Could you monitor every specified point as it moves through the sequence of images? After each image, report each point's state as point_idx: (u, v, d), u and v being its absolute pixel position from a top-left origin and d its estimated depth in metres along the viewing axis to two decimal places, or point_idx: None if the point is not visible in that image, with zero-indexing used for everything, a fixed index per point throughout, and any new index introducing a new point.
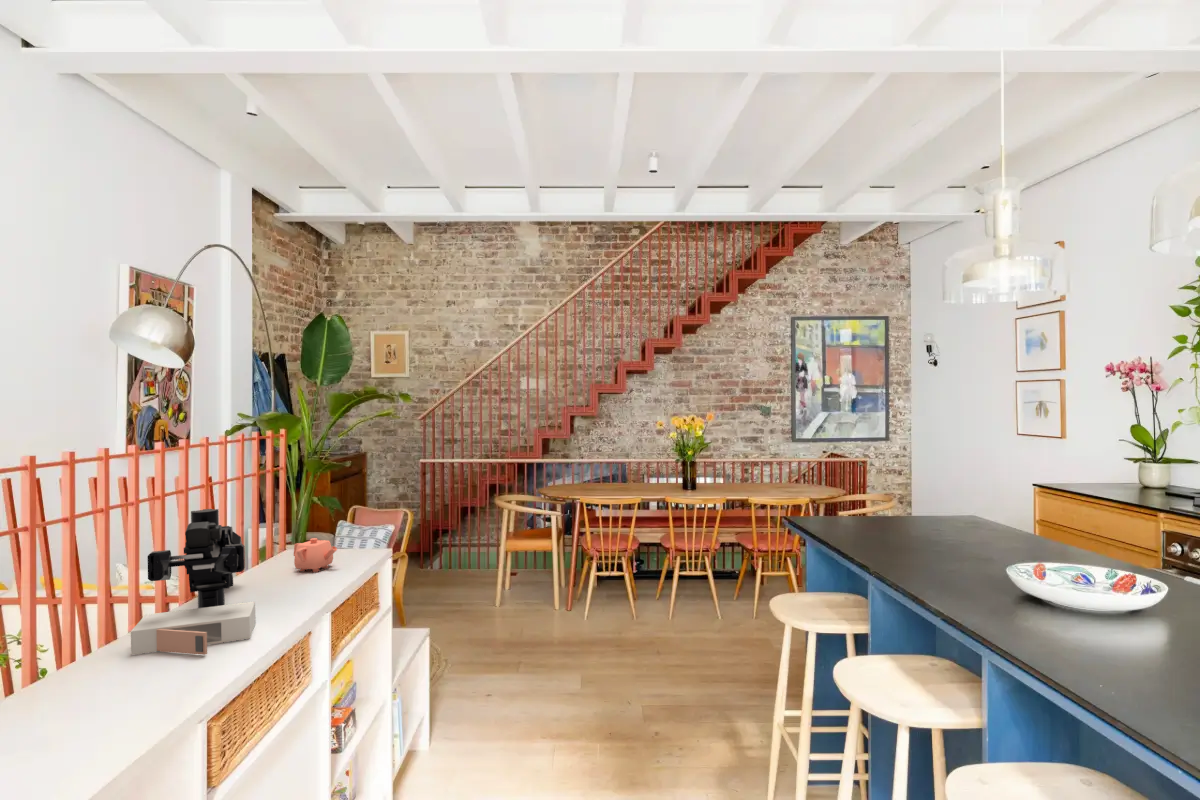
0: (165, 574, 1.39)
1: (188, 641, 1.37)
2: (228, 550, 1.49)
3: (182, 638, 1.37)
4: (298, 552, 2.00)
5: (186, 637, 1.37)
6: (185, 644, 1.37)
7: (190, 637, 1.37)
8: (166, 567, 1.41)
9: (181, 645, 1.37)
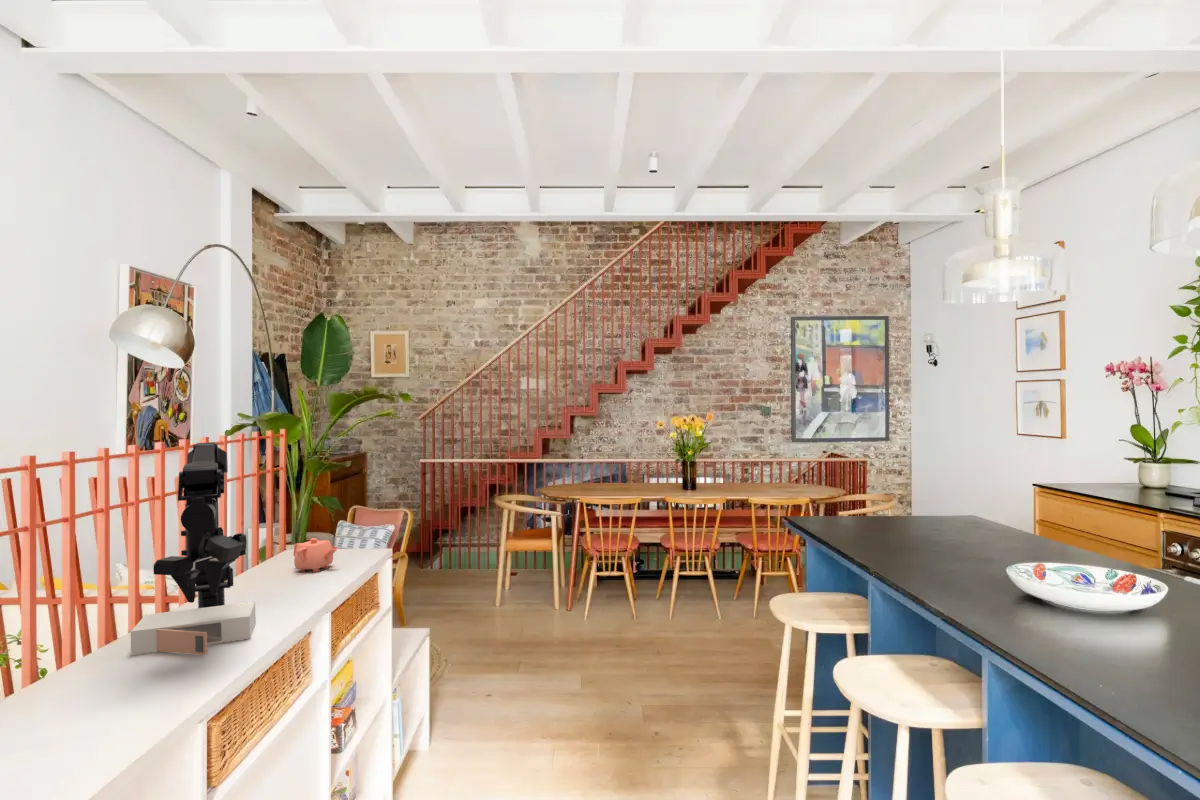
0: None
1: (188, 641, 1.37)
2: (229, 564, 1.43)
3: (182, 638, 1.37)
4: (298, 552, 2.00)
5: (186, 637, 1.37)
6: (185, 644, 1.37)
7: (190, 637, 1.37)
8: (194, 595, 1.36)
9: (181, 645, 1.37)
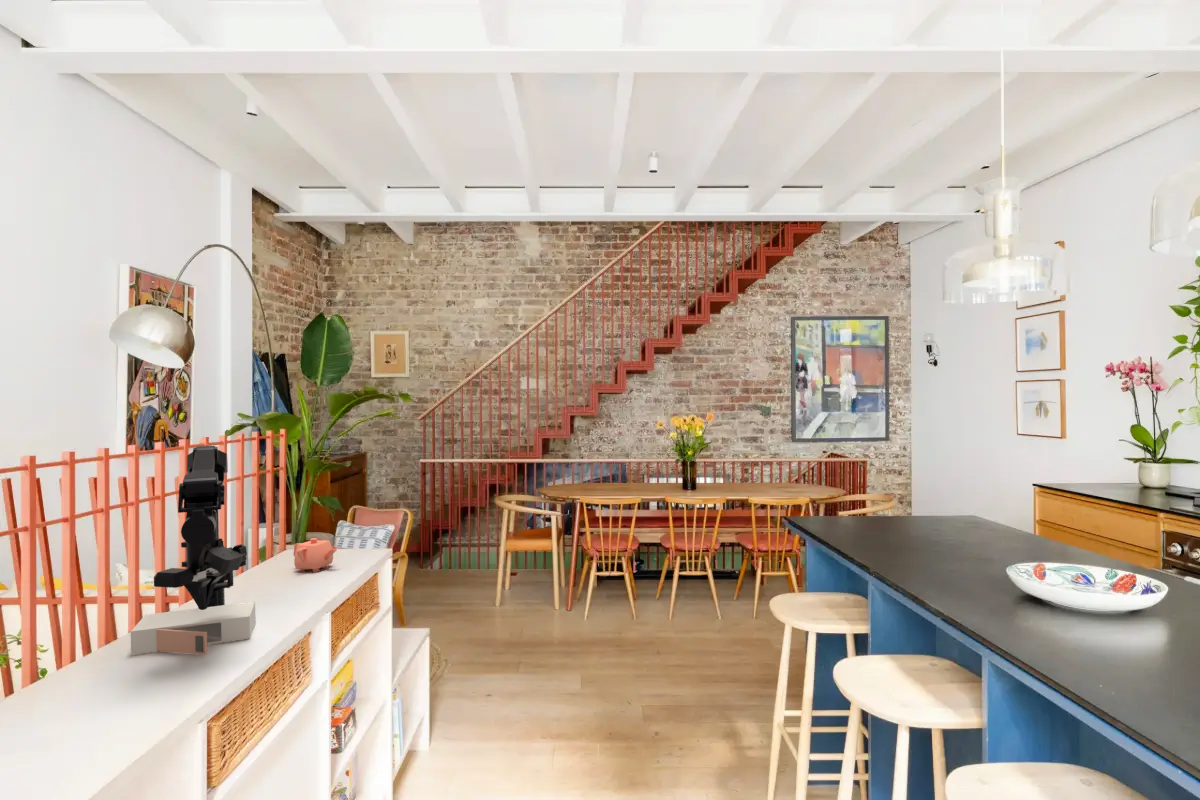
0: None
1: (188, 641, 1.37)
2: (219, 578, 1.41)
3: (182, 638, 1.37)
4: (298, 552, 2.00)
5: (186, 637, 1.37)
6: (185, 644, 1.37)
7: (190, 637, 1.37)
8: (205, 602, 1.39)
9: (181, 645, 1.37)
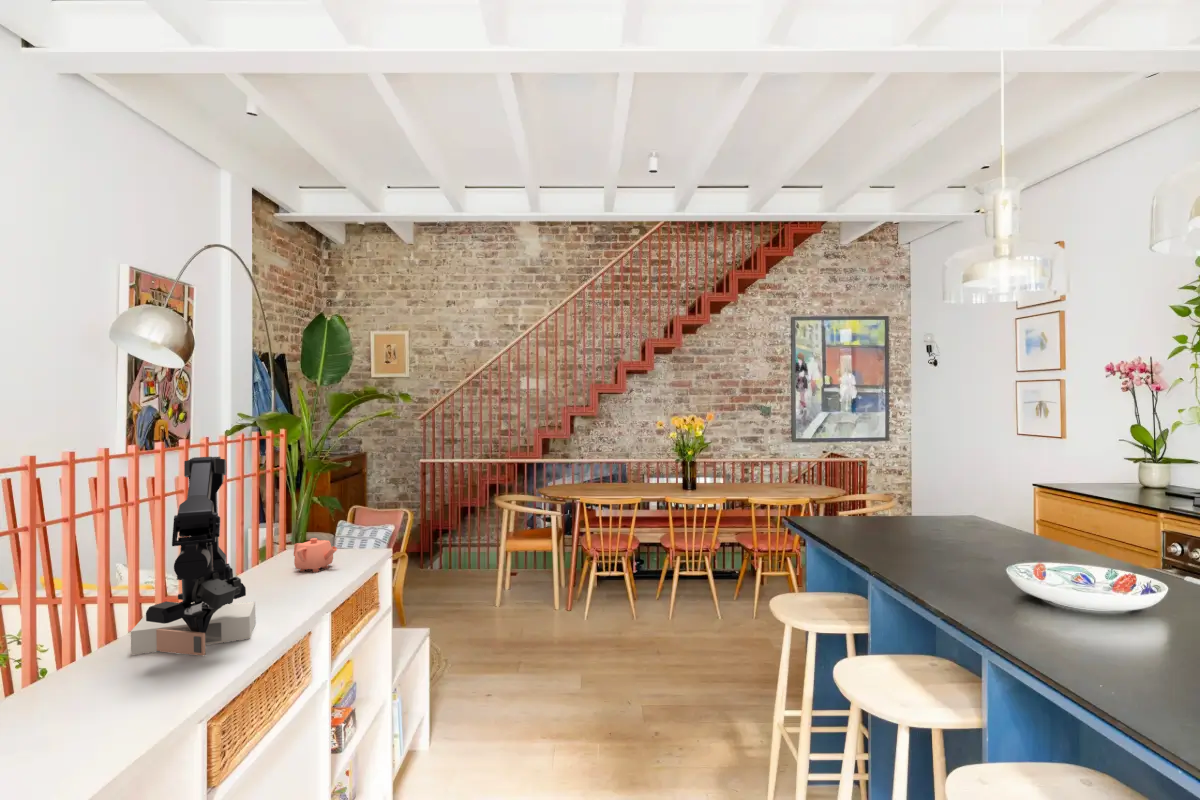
0: None
1: (187, 642, 1.36)
2: (215, 611, 1.39)
3: (181, 638, 1.37)
4: (298, 552, 2.00)
5: (185, 638, 1.36)
6: (184, 644, 1.37)
7: (188, 637, 1.36)
8: None
9: (180, 645, 1.37)
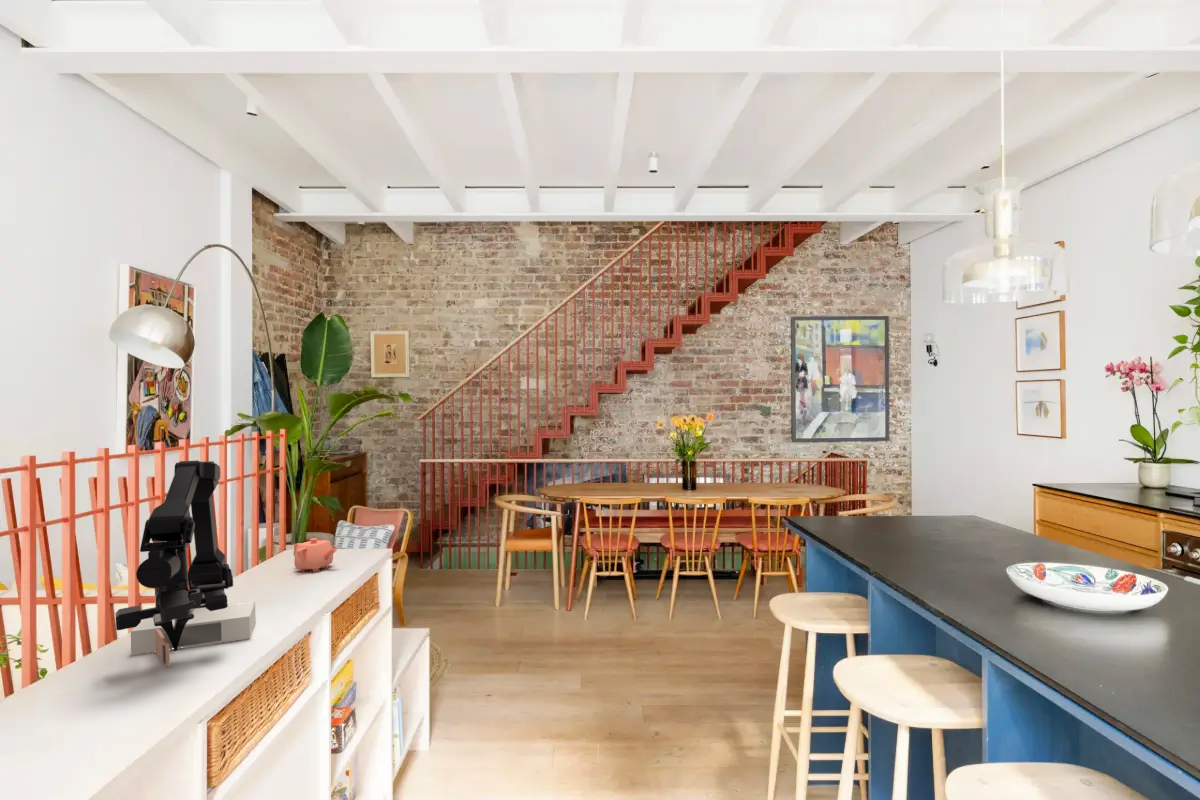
0: None
1: (162, 649, 1.33)
2: (185, 621, 1.32)
3: (161, 644, 1.34)
4: (298, 552, 2.00)
5: (161, 644, 1.33)
6: (161, 651, 1.33)
7: (162, 645, 1.32)
8: (175, 644, 1.33)
9: (160, 651, 1.34)
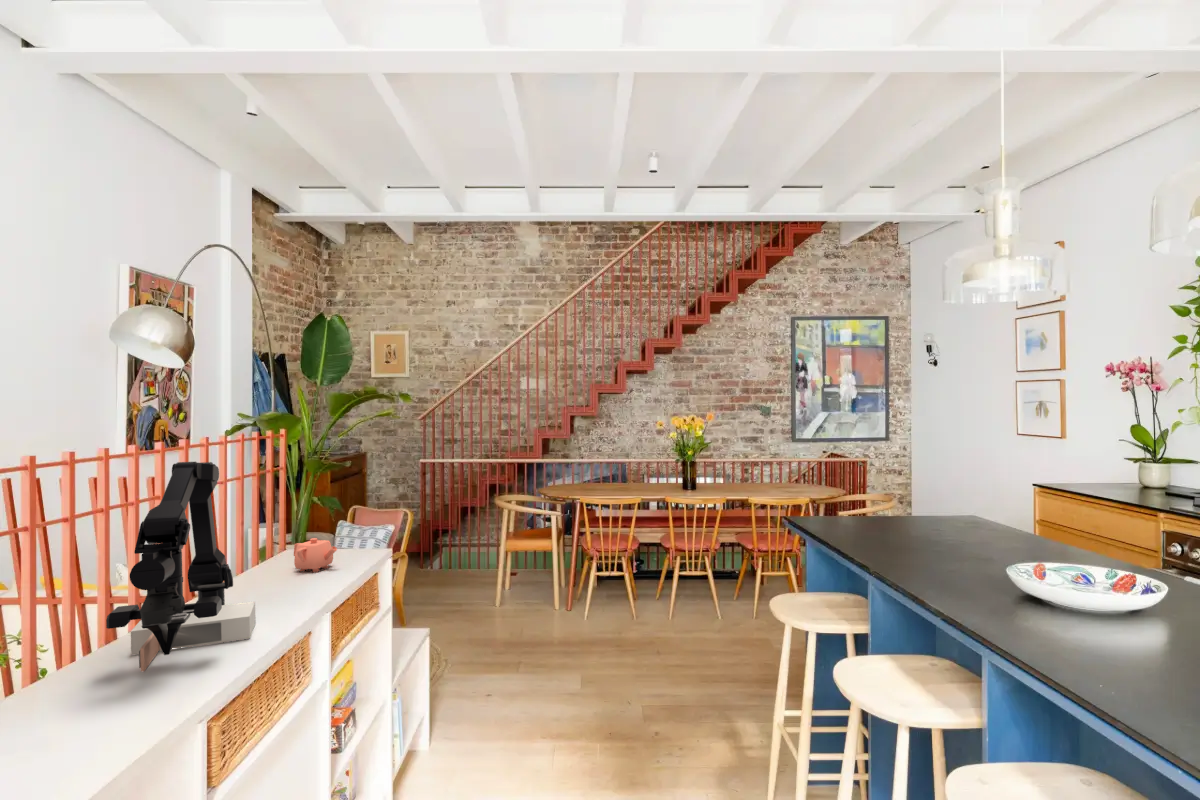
0: None
1: None
2: (175, 626, 1.31)
3: None
4: (298, 552, 2.00)
5: None
6: None
7: None
8: (164, 648, 1.31)
9: None
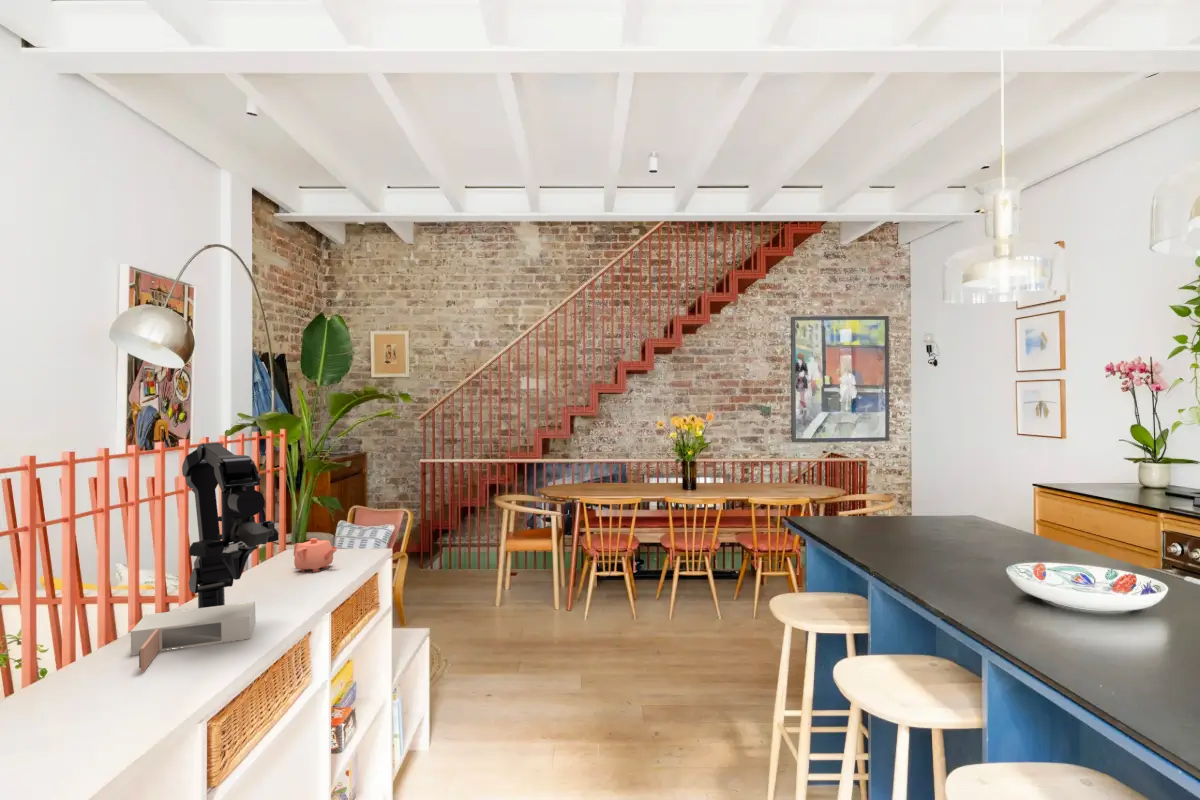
0: None
1: None
2: (251, 551, 1.52)
3: None
4: (298, 552, 2.00)
5: None
6: None
7: None
8: (238, 573, 1.50)
9: None
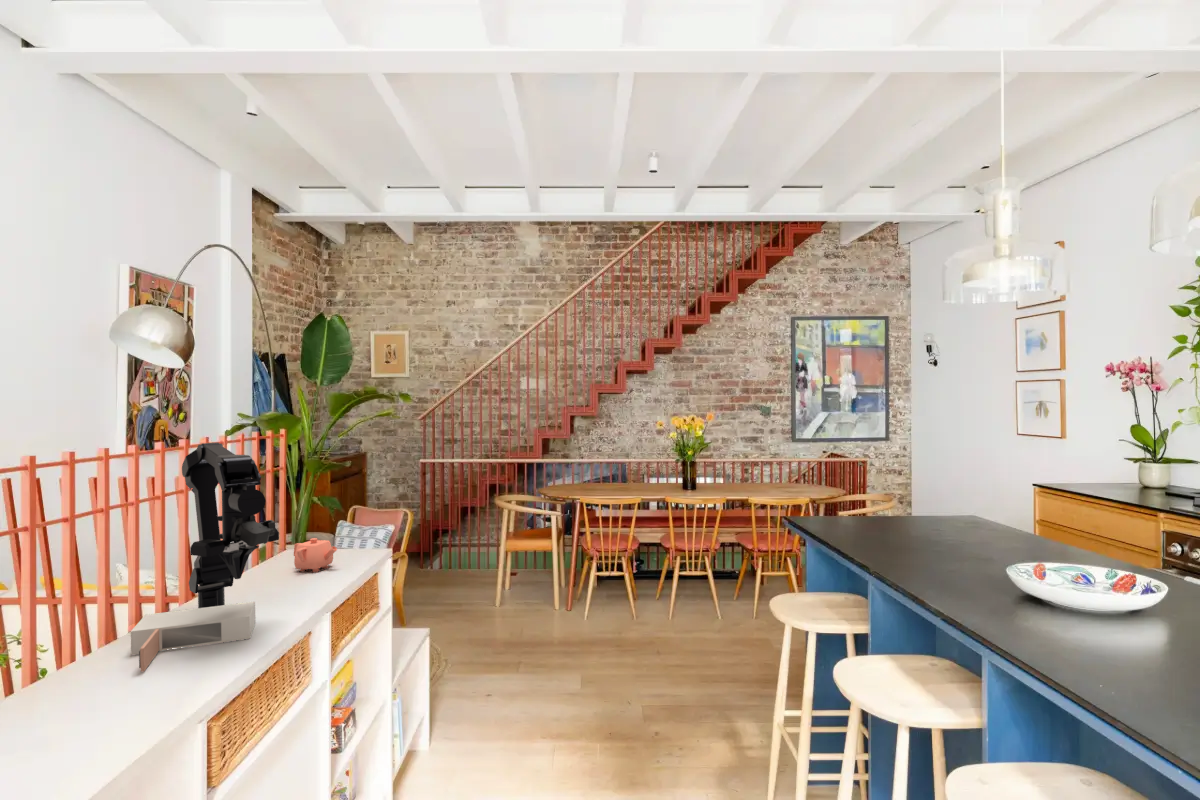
0: None
1: None
2: (252, 550, 1.52)
3: None
4: (298, 552, 2.00)
5: None
6: None
7: None
8: (238, 572, 1.50)
9: None
